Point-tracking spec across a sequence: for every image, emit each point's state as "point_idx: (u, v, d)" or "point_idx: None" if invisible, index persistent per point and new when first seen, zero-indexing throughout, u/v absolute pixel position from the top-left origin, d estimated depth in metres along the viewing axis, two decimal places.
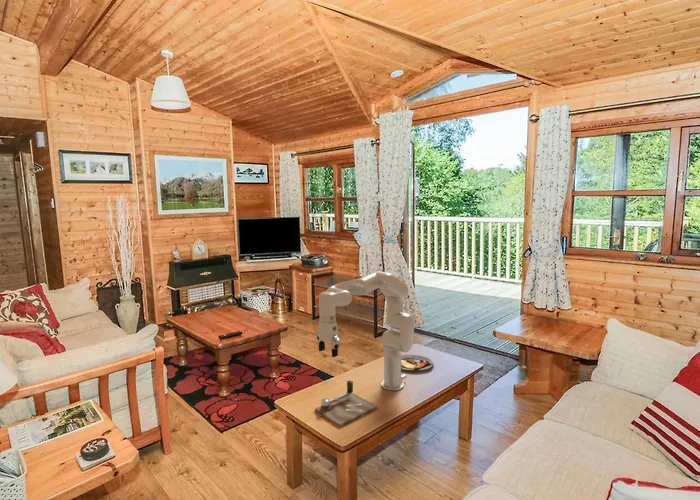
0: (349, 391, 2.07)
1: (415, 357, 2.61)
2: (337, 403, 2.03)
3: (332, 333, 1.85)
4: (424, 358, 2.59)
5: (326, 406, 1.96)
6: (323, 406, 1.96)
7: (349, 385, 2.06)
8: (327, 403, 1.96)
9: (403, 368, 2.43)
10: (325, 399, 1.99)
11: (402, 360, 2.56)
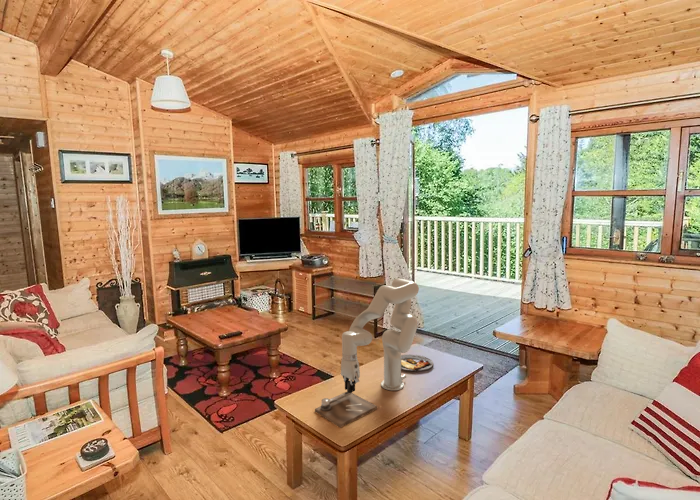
0: (349, 391, 2.07)
1: (415, 357, 2.61)
2: (337, 403, 2.03)
3: (354, 370, 2.02)
4: (424, 358, 2.59)
5: (326, 406, 1.96)
6: (323, 406, 1.96)
7: (349, 385, 2.06)
8: (327, 403, 1.96)
9: (403, 368, 2.43)
10: (325, 399, 1.99)
11: (402, 360, 2.56)
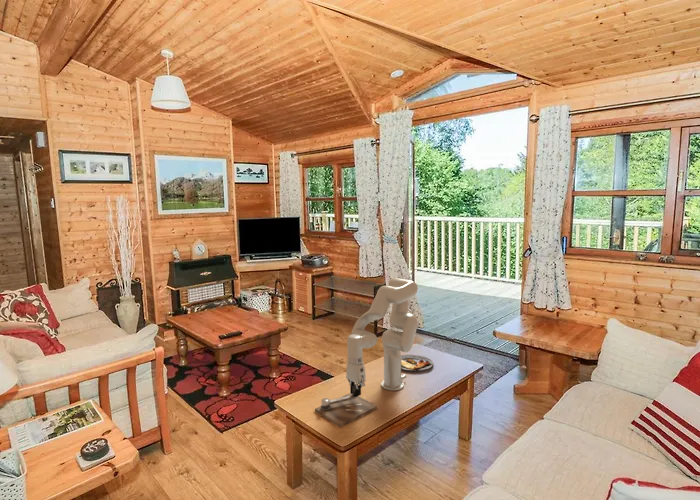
0: (354, 395, 2.03)
1: (415, 357, 2.61)
2: (337, 403, 2.03)
3: (360, 374, 1.98)
4: (424, 358, 2.59)
5: (325, 406, 1.96)
6: (322, 406, 1.97)
7: (354, 389, 2.02)
8: (326, 403, 1.96)
9: (403, 368, 2.43)
10: (326, 399, 1.99)
11: (402, 360, 2.56)
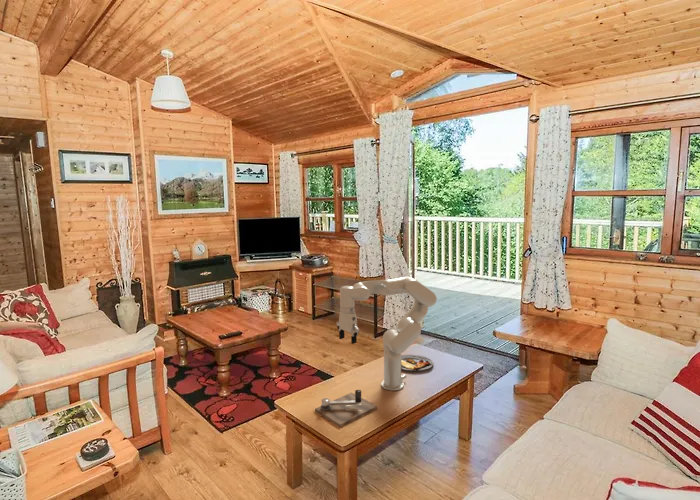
0: (356, 400, 1.97)
1: (415, 357, 2.61)
2: None
3: (352, 322, 2.09)
4: (424, 358, 2.59)
5: (323, 406, 1.96)
6: None
7: (356, 394, 1.97)
8: (324, 403, 1.96)
9: (403, 368, 2.43)
10: (326, 399, 1.98)
11: (402, 360, 2.56)
